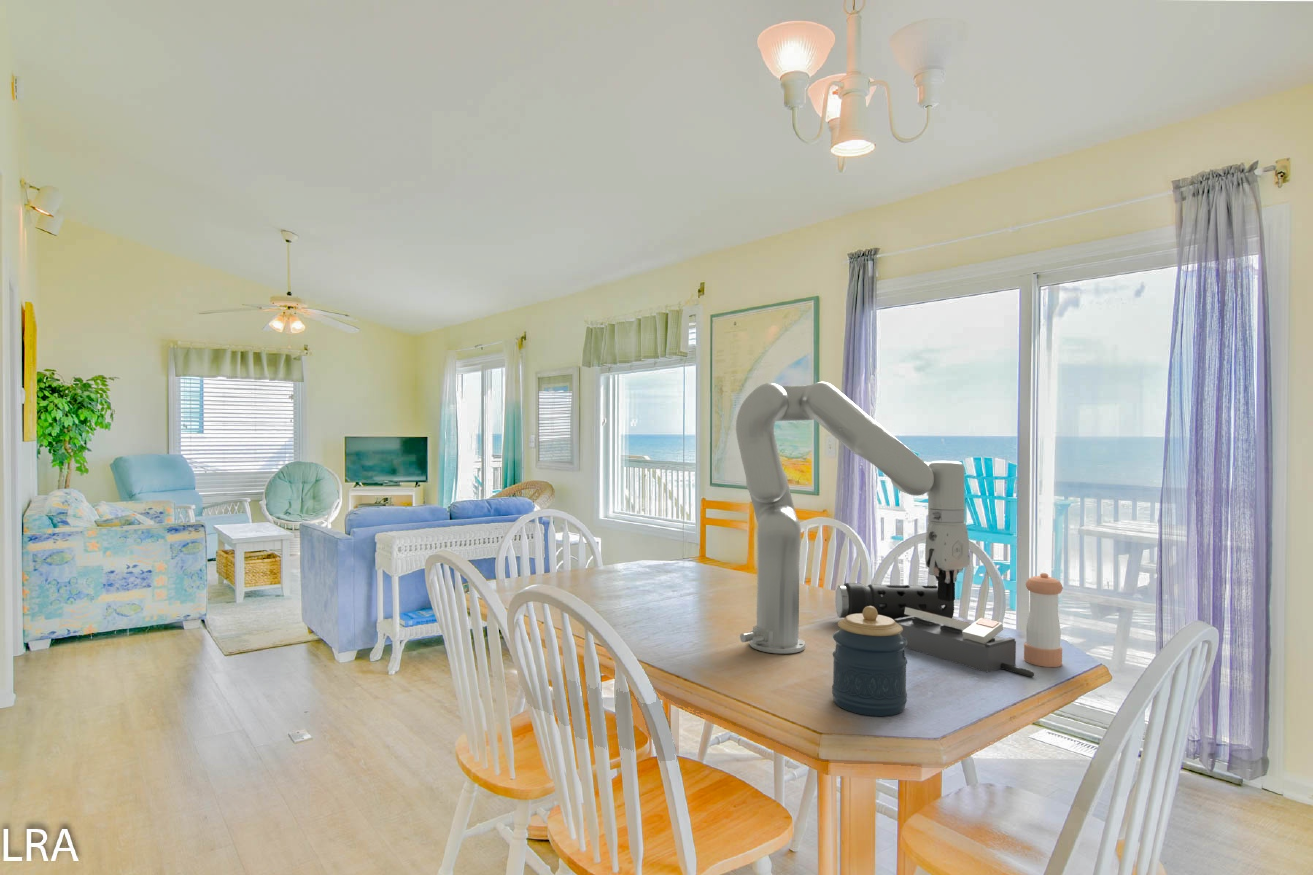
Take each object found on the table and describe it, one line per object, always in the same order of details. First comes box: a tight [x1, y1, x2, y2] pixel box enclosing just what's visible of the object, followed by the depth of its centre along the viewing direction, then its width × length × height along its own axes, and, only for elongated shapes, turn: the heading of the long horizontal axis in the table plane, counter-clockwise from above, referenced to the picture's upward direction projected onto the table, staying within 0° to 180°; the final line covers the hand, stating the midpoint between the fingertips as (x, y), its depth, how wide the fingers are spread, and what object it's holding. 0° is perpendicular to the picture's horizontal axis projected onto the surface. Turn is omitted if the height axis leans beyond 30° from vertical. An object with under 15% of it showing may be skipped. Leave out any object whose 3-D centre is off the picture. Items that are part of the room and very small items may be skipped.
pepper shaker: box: [1023, 572, 1064, 668], centre depth 157 cm, size 7×7×19 cm
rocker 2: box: [932, 614, 972, 630], centre depth 163 cm, size 7×5×2 cm
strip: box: [894, 616, 1035, 678], centre depth 160 cm, size 10×31×6 cm, turn 33°
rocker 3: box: [962, 617, 1004, 644], centre depth 156 cm, size 7×5×2 cm
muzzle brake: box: [834, 582, 955, 620], centre depth 188 cm, size 10×28×10 cm, turn 89°
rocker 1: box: [904, 607, 941, 624], centre depth 169 cm, size 7×5×2 cm
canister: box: [831, 606, 908, 717], centre depth 131 cm, size 13×13×18 cm
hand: (946, 599), depth 161 cm, fingers closed
